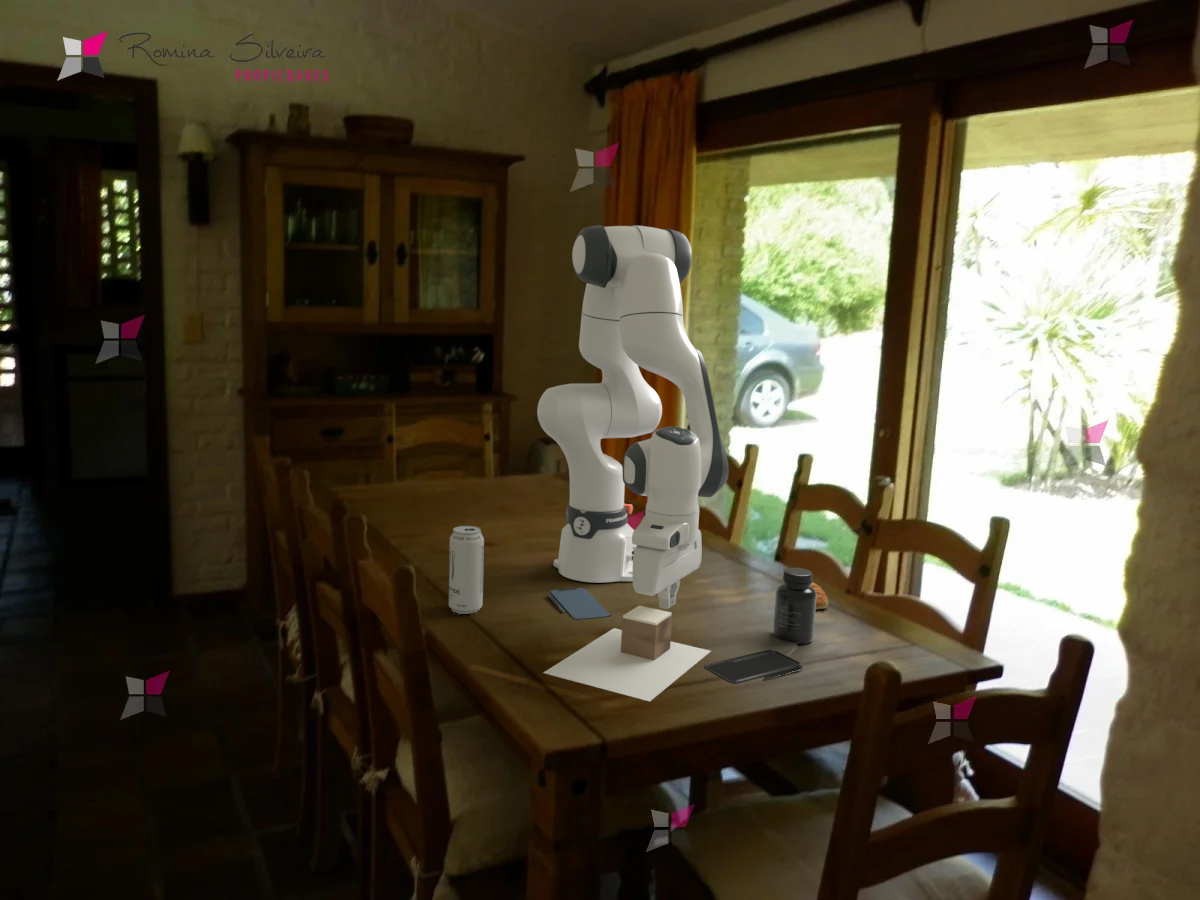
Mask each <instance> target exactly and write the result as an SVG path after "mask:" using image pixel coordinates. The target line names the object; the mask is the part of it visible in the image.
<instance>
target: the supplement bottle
mask: <svg viewBox="0 0 1200 900" xmlns="http://www.w3.org/2000/svg"><path fill="white" fill-rule="evenodd" d="M812 583H813V572H812V571H810V569H805V568H803V567H802V568H801V567H788V568H785V569H783V575H782V583H781V584H779V585H778V586H777V588H776V589H775V590H776V591H775V600H774V601H775V602H774V612H773V614H774V615H773V624H772V626H773V627H772V628H773V629H772V634H773V636H774V637H775V638H777V639H779V640H781V641H784V642H790V643H796V645H797V646H799V645H798V644H804V645H808V644H810V643H811V642H812V641H813V639H814V631H815V618H816V610H815V609H816V596H817V594H816V591H815V589H814V588H813V587H811V586H810V585H811V584H812ZM809 642H810V643H809ZM807 643H808V644H807Z"/></svg>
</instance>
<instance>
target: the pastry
mask: <svg viewBox="0 0 1200 900" xmlns="http://www.w3.org/2000/svg"><path fill="white" fill-rule="evenodd" d="M810 586H811V587H813V588H814V589H815V591H816V594H817V596H816V609H815V611H816V610H821V609H827V607H828V606H829V603H830V602H829V599H828V596H827V594H826V591H825V590H823V589H822V587H821V586H820V585H818V584H817V583H815V582H812V584H811V585H810Z"/></svg>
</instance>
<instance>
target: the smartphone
mask: <svg viewBox="0 0 1200 900" xmlns="http://www.w3.org/2000/svg"><path fill="white" fill-rule="evenodd" d="M548 593H549V594H548V597H549V599H550V600H551V601H552V602H553V603H554V605H556V607H557V608H558V607H559V608H558V609H559V610H560V611H561V612H562V613H563V614H564V613H566V614H567V615H568V616H569V617H570V618H571V619H573V620H576V621H579V620H590V619H601V618H603V619H604V618H610V617H612V614H611V613H609V612H608V610H607V609H606V608H605V607H604V606H603V605H602V604H601V603H599V601H598V600H597V599H596V598H595V597H594V596H593V595H592V594H591V593H590V592H589V591H588V590H587V589H586V588H584V587H577V588H576V587H573V588H562V589H561V588H560V589H553V590H552V589H551V590H550V591H549V592H548Z"/></svg>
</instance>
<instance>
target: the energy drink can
mask: <svg viewBox="0 0 1200 900" xmlns="http://www.w3.org/2000/svg"><path fill="white" fill-rule="evenodd" d="M452 529H453V532H452V534H451V535H450V537H449V554H448V555H449V556H448V557H449V559H448V560H449V562H448V563H449V564H448V565H449V569H448V570H449V571H448V572H449V573H448V576H449V577H448V607H449V608H451V611H453V612H452V613H454V612H456V613H458V614H457V615H460V614H469V613H474V612H477V611H478V610H479V611H480V609H481V608H482V607H483V600H484V599H483V598H484V597H483V596H484V562H485V561H484V557H485V556H484V554H485V552H484V551H485V549H484V548H485V539H484V538H485V537H484V536H483V534H482V531H481V527H478V526H474V525H460V526H456V527H454V528H452ZM456 613H455V614H456ZM477 613H478V612H477Z"/></svg>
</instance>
